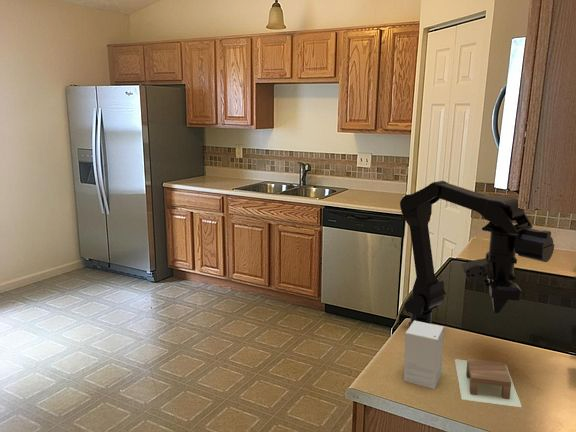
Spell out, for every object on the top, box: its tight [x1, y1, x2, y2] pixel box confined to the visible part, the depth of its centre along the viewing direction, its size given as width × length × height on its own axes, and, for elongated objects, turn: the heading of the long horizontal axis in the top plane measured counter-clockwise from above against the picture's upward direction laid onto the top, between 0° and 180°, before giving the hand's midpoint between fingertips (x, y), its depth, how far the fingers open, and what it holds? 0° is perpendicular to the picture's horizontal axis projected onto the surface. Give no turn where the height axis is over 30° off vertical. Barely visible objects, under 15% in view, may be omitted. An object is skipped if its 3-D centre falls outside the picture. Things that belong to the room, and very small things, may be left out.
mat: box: [454, 358, 522, 408], centre depth 108 cm, size 17×12×1 cm
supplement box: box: [403, 320, 445, 390], centre depth 108 cm, size 7×7×13 cm
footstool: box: [466, 358, 511, 399], centre depth 105 cm, size 4×8×8 cm
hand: (496, 312), depth 114 cm, fingers closed
